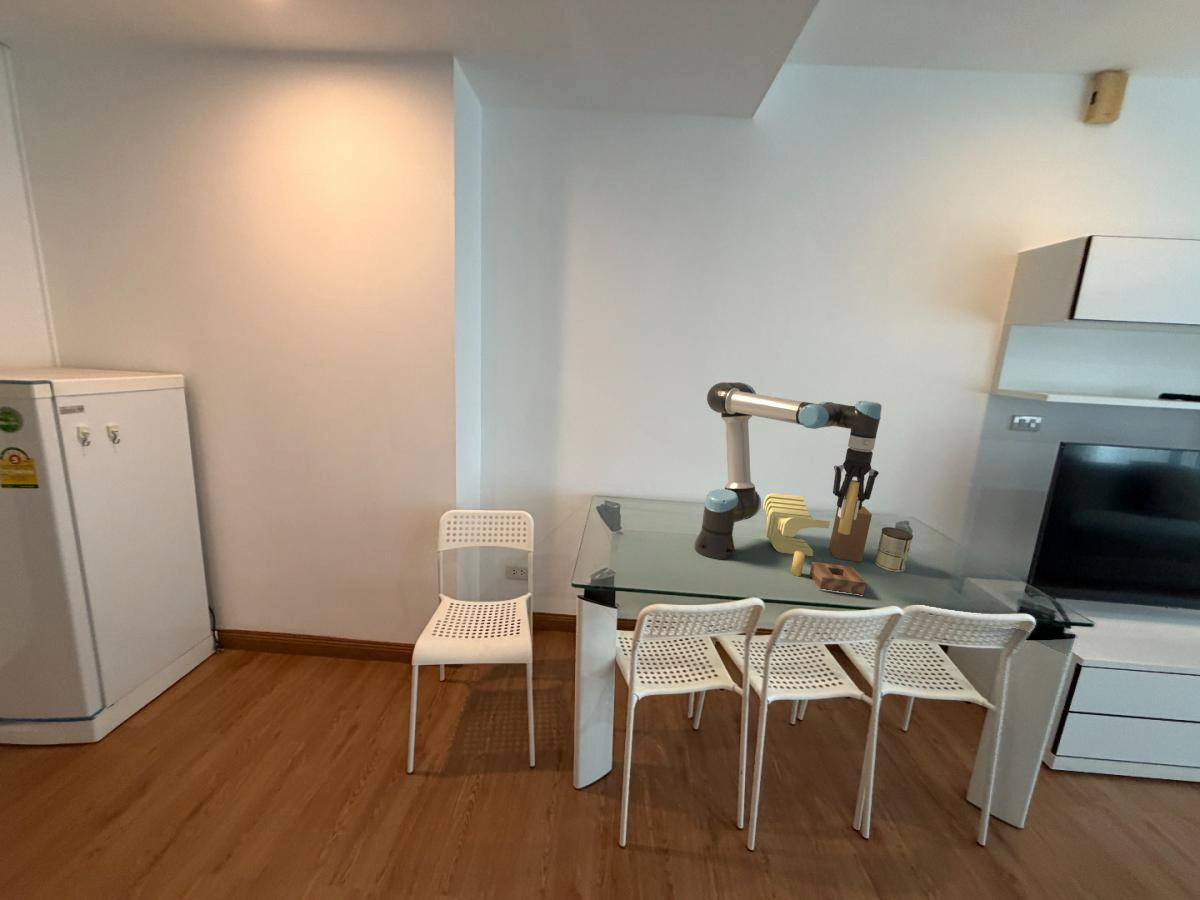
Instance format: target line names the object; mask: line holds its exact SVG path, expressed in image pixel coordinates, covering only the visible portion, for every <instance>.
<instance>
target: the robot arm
mask: <svg viewBox="0 0 1200 900" xmlns="http://www.w3.org/2000/svg"><path fill="white" fill-rule="evenodd" d="M706 401H707V405H708V407H709V408H710V409H711V410H712V411H714V412H715V413H719V414H720V415H721V419H722V420H723V421H724V423H725V435H726V437H725V438H726V439H725V440H726V458H727V459H726V462H727V483H726V484H725V485H724V488H721V489H720V488H719V489H718V488H717V489H713V490H710V491H709V492H707V494H706V497H705V501H704V509H703V515H702V516H703V517H702V523H701V529H700V532H699V534H698V535H697V537H696V539H695V540H694V541H695V542H694V548H693V549H694V550H695V551H696V553H699V554H700V555H702V556H704V557H707V558H712V559H717V560H726V559H727V560H728V559H730V558H733V557H734V556H735V551H736V550H735V549H736V547H735V542H734V541H735V540H734V536H733V535H734V533H733V532H734V528H735V527H734V526H735V523H738V522H741V521H743V520H749V519H751V518H753V517H754V516H756V515H757V514H758V513H759V511H760V509H761V507H762V498H761V496H760V494H758V492H757V491H756V485H755V484H754V483H753V482H752V479H751V456H750V455H751V454H750V433H749V431H750V430H749V429H750V428H749V420H750V419H751V418H752V417H753V416H754V417H759V418H765V419H770V420H775V421H779V422H780V421H781V422H785V423H789V424H796V425H801V426H803V427H804V428H807V429H813V430H815V429H821V428H828V427H838V428H845V429H849V430H850V434H849V437H848V442H847V443H848V444H847V446H848V448H847V449H846V453H845V458H844V462H843V463H842V464H841V465H833V469H834V480H833V488H832V494H833V495H834V496H836V497H837V502H836V507H839V511H838V516H839V517H840V518H843V514H844V509H845V503H846V499H845V494H846V492H847V489H848V487H849V484H850V482H851V480H854V479H853V478H856V481H858V482H860V485H859V490H858V495H857V500H856V505H855V510H854V515H853V519H854V520H856V518H857V513H858V510H861V507H862V506H863V502H865V500H870V499H871V494H872V491H873V489H874V484H875V481H876V478H877V477H878V475H879V471H878V470H876V469H874V468H872V465H871V463H872V459H873V454H874V452H873V450H874V449H875V445H876V439H877V433H878V429H879V425H880V421H881V414H882V409H883V408H882V405H881V403H879V402H876V401H875V402H874V401H868V400H857V401H856V403H855V405H849V404H848V405H847V404H843V403H836V402H832V401H830V402H829V401H820V402H819V403H812V402H808V401H800V400H795V399H787V398H783V397H776V396H770V395H764V394H759V393H758V394H757V393H756V391H755V389H754V388H753V386H751V385H749V384H748V383H745V382H741V381H740V382H738V381H737V382H724V381H723V382H717V383H715V384H714V385H712V386H711V387H710V389H708V392H707V395H706ZM843 471H845V474H844V478H843V481H841V480H842V473H843ZM867 474H869V475H868V477H867V481H866V484H864V483H865V476H866V475H867ZM841 482H842V484H841Z"/></svg>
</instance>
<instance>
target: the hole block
mask: <svg viewBox="0 0 1200 900" xmlns="http://www.w3.org/2000/svg"><path fill="white" fill-rule="evenodd" d="M809 576H810V578H811V577H812V578H813V579H812V578H811V579H812V580H814V581H815V582H814V581H813V582H814V584H815V583H816V584H817V586H818V587H819V588H820V589H826V590H832V591H839V592H846V593H852V594H859V595H863V596H864V594H865V589H866V586H867V581H865V580H864V578H863V577H862V576H861V575H860V574H859V573H858V571H857V570H856V569H855V568H854V567H853V566H846V565H840V564H835V563H834V564H832V563H825V562H816V561H811V565H810V570H809ZM816 584H815V585H816ZM817 586H816V587H817ZM818 587H817V588H818Z"/></svg>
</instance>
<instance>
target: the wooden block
mask: <svg viewBox="0 0 1200 900" xmlns="http://www.w3.org/2000/svg"><path fill="white" fill-rule="evenodd" d="M838 511H839V507H838V506H836V513H835V516H834V517H835V518H834V521H833V527H832V532H831V537H830V540H829V547H828V549H829V551H830V553H831V555H832V556H833V557H834V558H835V559H840V560H845V561H850V562H857V563H862V561H863V558H864V557H863V556H864V553H865V552H864V551H865V548H866V544H867V539H868V538H867V537H868V534H869V529H870V525H871V521H872V516H873V515H872V513H871V512H870V511H869V510H868V509H867V508H866V507H865V506H863V505H862V507H861V510H858V513H857V518H856V520H854V519H853V520H852V525H851V530H850V534H849V535H845V534H841V533H839V532H838V529H839V523H840V517H839V516H838Z"/></svg>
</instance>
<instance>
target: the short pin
mask: <svg viewBox="0 0 1200 900" xmlns="http://www.w3.org/2000/svg"><path fill="white" fill-rule="evenodd" d="M805 557H806V555H805V553H803V552H801V551H795V552H794V554H793V559H792V563H791V569H790V574H791V575H792V574H793V576H795V575H796V577H801V576H802V573H803V568H804V562H805V559H806V558H805Z"/></svg>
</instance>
